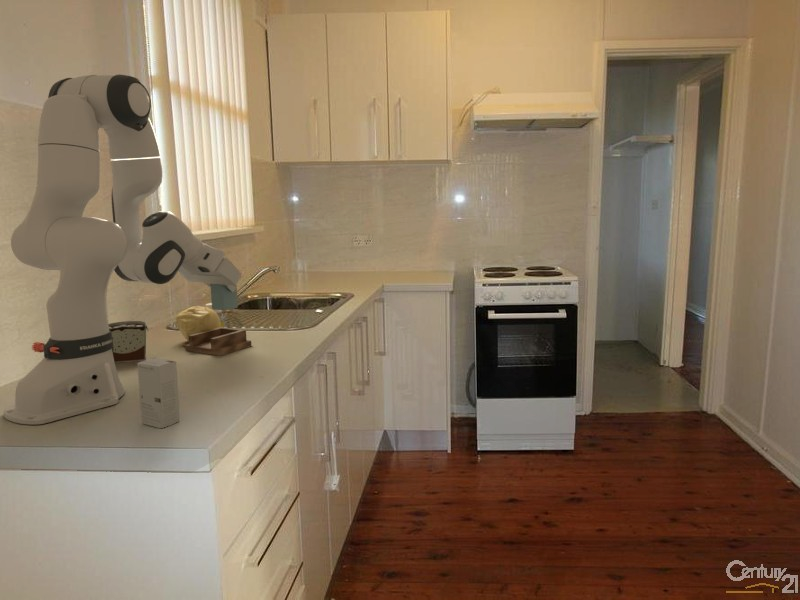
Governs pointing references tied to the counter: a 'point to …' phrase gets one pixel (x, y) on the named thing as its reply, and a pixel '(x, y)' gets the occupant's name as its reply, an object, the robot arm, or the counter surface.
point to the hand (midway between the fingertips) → (225, 289)
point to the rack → (218, 341)
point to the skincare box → (158, 392)
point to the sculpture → (197, 320)
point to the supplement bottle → (217, 313)
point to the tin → (223, 297)
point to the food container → (129, 340)
